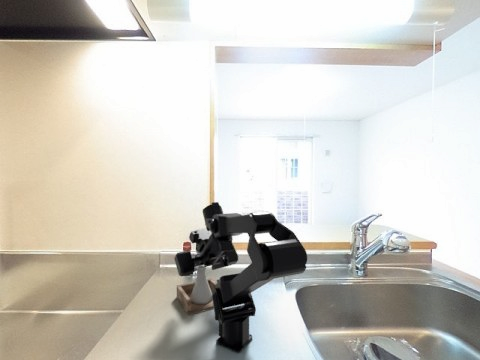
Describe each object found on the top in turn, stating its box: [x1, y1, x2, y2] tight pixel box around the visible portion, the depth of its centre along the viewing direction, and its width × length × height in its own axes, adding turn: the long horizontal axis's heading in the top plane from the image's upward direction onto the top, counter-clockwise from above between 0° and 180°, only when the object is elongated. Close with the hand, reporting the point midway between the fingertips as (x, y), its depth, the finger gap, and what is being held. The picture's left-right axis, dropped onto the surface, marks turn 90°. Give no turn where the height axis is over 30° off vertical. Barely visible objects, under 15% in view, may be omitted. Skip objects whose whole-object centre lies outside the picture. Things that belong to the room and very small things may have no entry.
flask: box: [190, 265, 213, 304], centre depth 80 cm, size 7×7×10 cm
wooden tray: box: [176, 277, 217, 316], centre depth 81 cm, size 12×12×4 cm
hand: (199, 271), depth 82 cm, fingers open, 9 cm apart
